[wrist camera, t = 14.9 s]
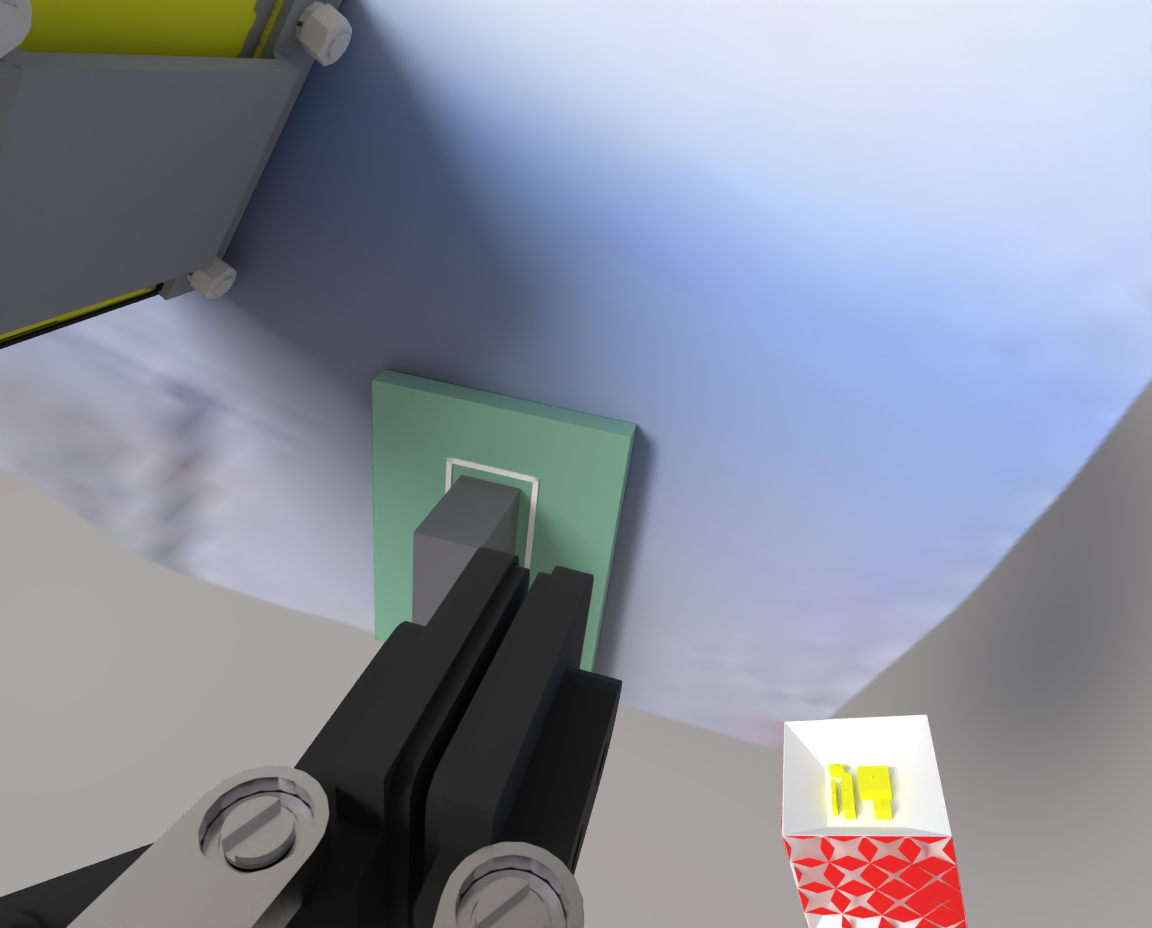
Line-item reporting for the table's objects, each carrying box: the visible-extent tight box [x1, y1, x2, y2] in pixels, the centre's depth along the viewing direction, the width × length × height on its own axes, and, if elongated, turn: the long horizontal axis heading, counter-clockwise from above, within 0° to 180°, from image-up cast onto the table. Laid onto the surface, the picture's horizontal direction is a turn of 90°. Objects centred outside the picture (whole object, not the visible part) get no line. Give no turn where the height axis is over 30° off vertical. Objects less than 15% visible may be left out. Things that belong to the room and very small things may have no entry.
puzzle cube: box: [781, 715, 968, 928], centre depth 42 cm, size 8×8×8 cm
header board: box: [372, 370, 637, 673], centre depth 42 cm, size 14×18×5 cm
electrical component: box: [0, 0, 352, 349], centre depth 28 cm, size 18×10×20 cm, turn 142°
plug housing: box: [412, 475, 521, 626], centre depth 41 cm, size 3×9×6 cm, turn 173°
